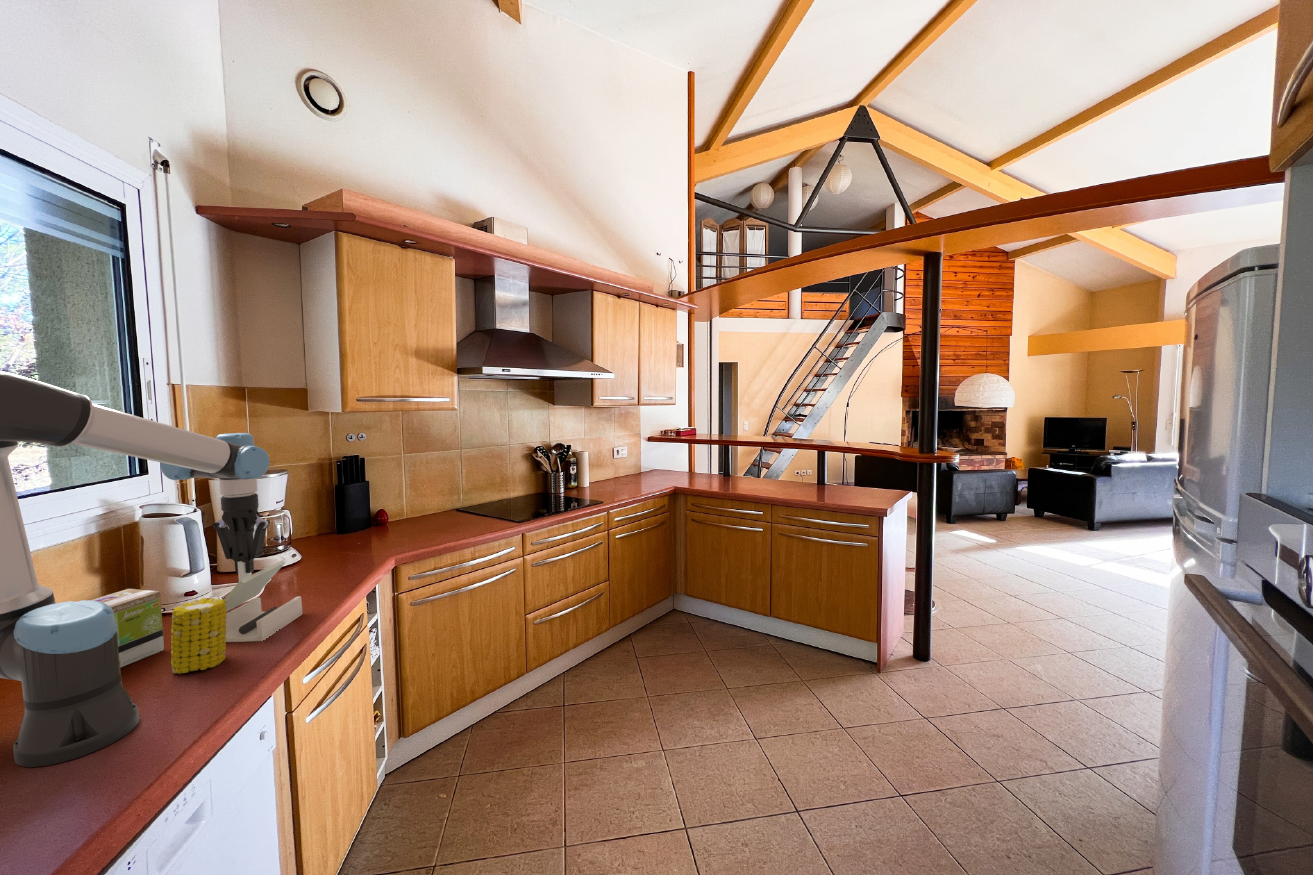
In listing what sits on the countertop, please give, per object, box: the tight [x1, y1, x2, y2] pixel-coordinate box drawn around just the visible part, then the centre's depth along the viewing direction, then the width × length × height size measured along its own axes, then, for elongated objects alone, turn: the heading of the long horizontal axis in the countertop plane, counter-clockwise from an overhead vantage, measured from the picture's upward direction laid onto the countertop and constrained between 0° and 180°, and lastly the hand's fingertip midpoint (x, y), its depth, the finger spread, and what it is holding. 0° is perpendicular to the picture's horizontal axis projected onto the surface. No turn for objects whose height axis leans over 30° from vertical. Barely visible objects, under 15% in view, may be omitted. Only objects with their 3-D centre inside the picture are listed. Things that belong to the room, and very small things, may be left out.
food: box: [170, 597, 227, 675], centre depth 122 cm, size 15×12×10 cm
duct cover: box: [223, 560, 286, 613], centre depth 140 cm, size 16×12×1 cm
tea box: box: [90, 588, 165, 669], centre depth 123 cm, size 15×10×15 cm
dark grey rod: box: [239, 606, 279, 634], centre depth 142 cm, size 13×2×2 cm, turn 2°
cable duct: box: [225, 596, 303, 643], centre depth 141 cm, size 16×12×5 cm
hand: (245, 584), depth 140 cm, fingers closed
